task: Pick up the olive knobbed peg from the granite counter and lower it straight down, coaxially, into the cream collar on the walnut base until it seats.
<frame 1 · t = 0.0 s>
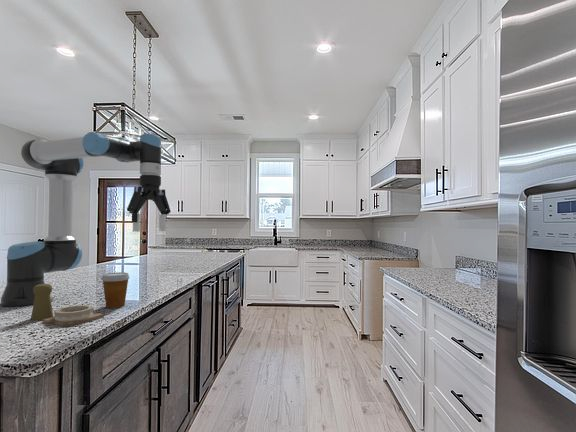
hand: (150, 231, 132), 28 cm above the countertop, tool pointing down, fingers open, 13 cm apart
collar base: (74, 319, 112), on the countertop
olive knobbed peg: (42, 318, 115), on the countertop
disposable coffee cup: (115, 306, 131), on the countertop
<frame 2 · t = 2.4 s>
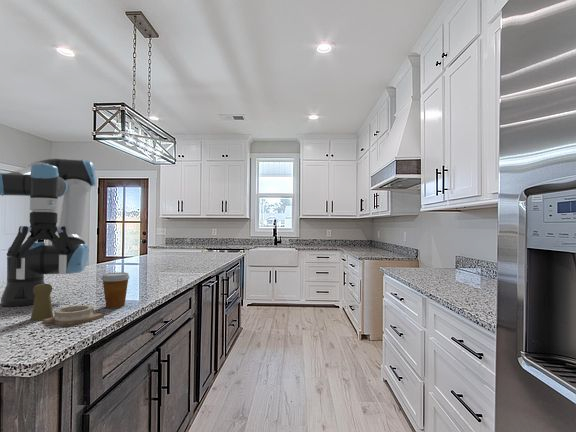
hand: (42, 276, 115), 14 cm above the countertop, tool pointing down, fingers open, 13 cm apart
nothing on the countertop moved.
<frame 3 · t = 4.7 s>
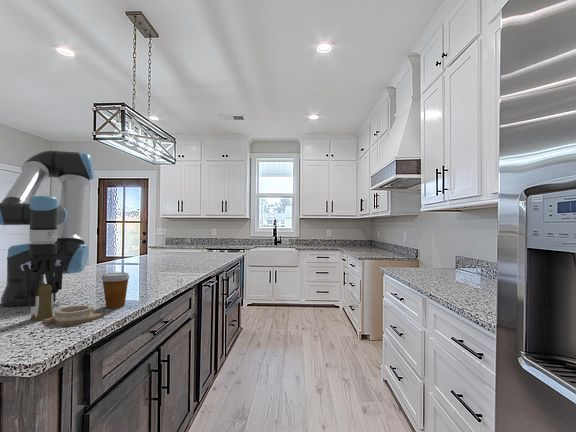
hand: (42, 314, 115), 1 cm above the countertop, tool pointing down, fingers closed on olive knobbed peg, 4 cm apart
olive knobbed peg: (42, 318, 115), on the countertop, touching gripper
everything else where it was.
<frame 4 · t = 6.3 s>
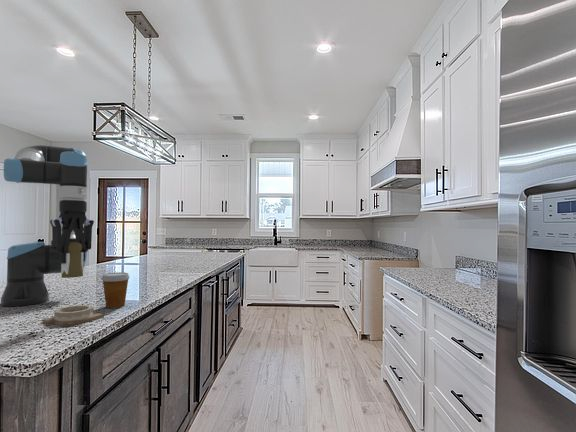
hand: (72, 272, 112), 15 cm above the countertop, tool pointing down, fingers closed on olive knobbed peg, 4 cm apart
olive knobbed peg: (72, 277, 112), point 14 cm above the countertop, touching gripper
everything else where it was.
when the fingers open (4 cm above the countertop, at t = 7.9 s): olive knobbed peg drops 2 cm, resting on collar base.
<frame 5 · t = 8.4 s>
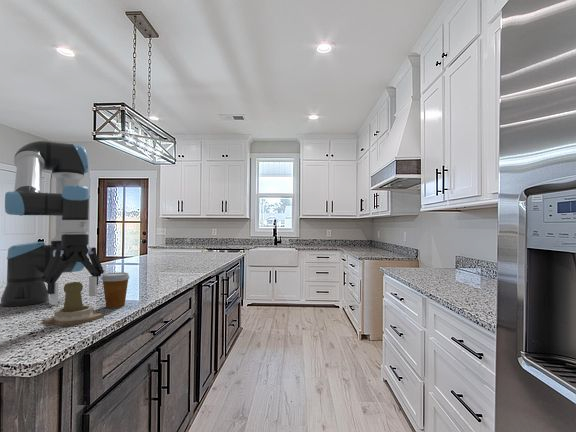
hand: (74, 300, 112), 6 cm above the countertop, tool pointing down, fingers open, 13 cm apart
olive knobbed peg: (73, 317, 112), point 1 cm above the countertop, touching collar base
everything else where it was.
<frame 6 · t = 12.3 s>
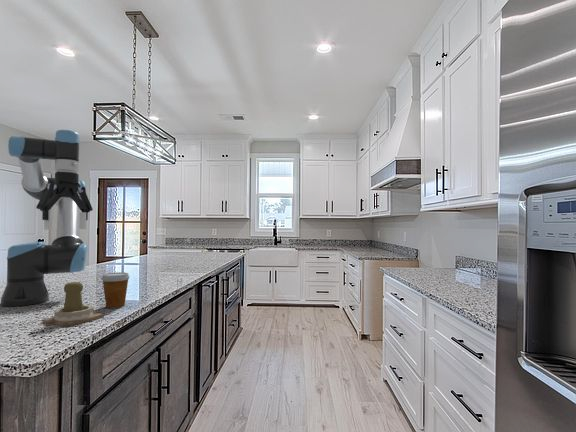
hand: (66, 229, 130), 29 cm above the countertop, tool pointing down, fingers open, 13 cm apart
nothing on the countertop moved.
at the end: olive knobbed peg 0.3 cm from the collar base (horizontally); olive knobbed peg point 0.8 cm above the countertop; olive knobbed peg tilted 0° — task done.
